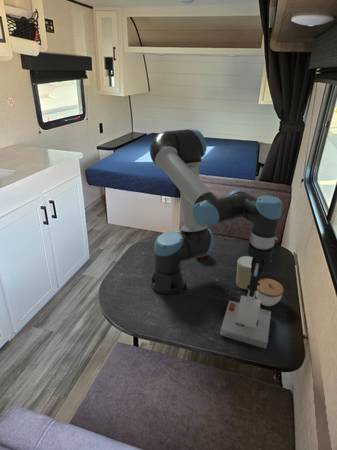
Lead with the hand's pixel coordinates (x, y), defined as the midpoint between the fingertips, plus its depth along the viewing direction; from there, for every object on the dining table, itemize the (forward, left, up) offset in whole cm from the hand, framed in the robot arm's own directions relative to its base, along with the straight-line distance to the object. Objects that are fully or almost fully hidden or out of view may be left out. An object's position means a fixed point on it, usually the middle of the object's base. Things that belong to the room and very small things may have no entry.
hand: (250, 300), depth 105 cm
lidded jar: (+6, +17, -12) cm, 22 cm away
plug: (0, 0, -12) cm, 12 cm away
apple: (-28, +39, -12) cm, 49 cm away
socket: (0, 0, -12) cm, 12 cm away
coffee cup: (-4, +25, -12) cm, 28 cm away
